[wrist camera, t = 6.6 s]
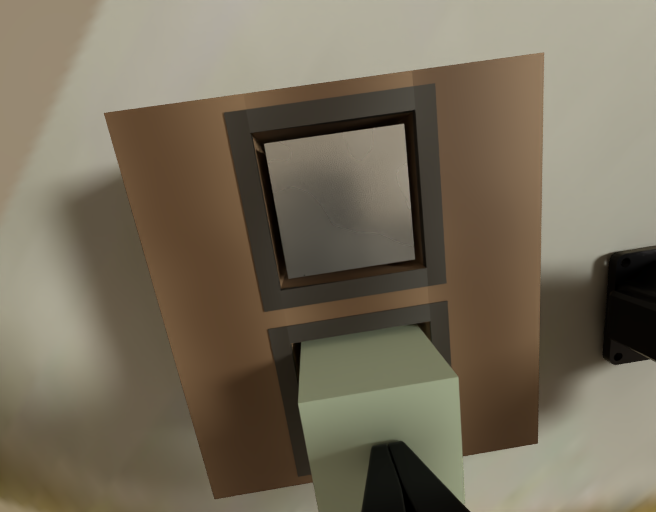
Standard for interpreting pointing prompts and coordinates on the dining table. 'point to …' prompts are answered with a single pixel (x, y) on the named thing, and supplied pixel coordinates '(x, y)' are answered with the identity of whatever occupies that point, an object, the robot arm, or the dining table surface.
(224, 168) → the walnut block
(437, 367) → the sage peg
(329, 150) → the steel peg
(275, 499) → the dining table surface
